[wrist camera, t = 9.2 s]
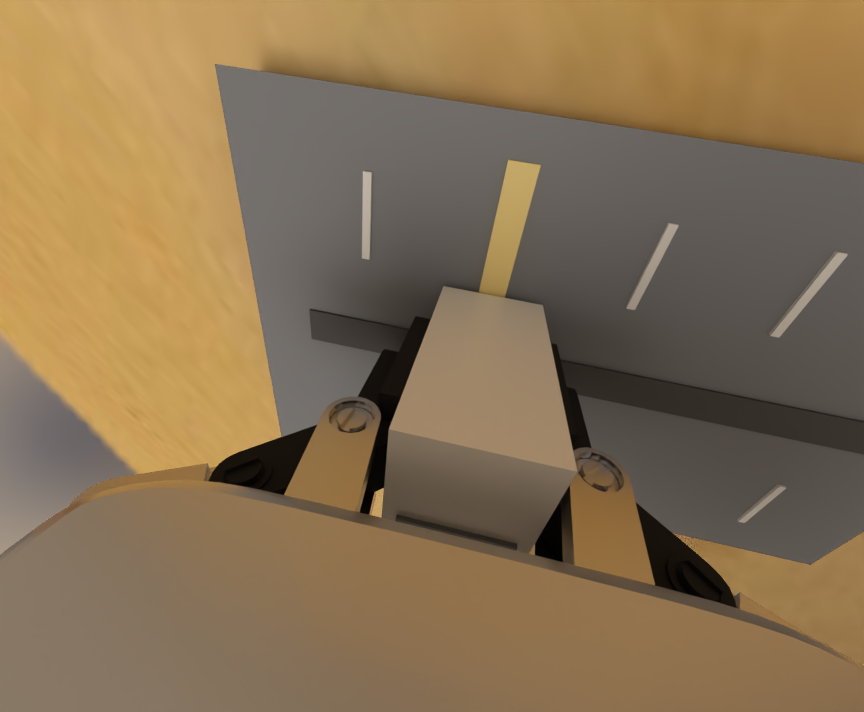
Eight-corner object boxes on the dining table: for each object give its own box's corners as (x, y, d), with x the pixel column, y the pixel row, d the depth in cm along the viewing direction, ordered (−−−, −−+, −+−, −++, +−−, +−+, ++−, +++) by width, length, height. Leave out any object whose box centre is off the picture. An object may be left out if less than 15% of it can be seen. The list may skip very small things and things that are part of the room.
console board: (1178, 214, 9) (1354, 238, 7) (779, 521, 16) (813, 568, 15) (261, 73, 10) (209, 62, 8) (302, 413, 18) (280, 444, 16)
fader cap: (542, 305, 10) (578, 477, 5) (501, 423, 13) (499, 607, 8) (443, 285, 10) (386, 433, 5) (424, 406, 13) (375, 576, 8)
